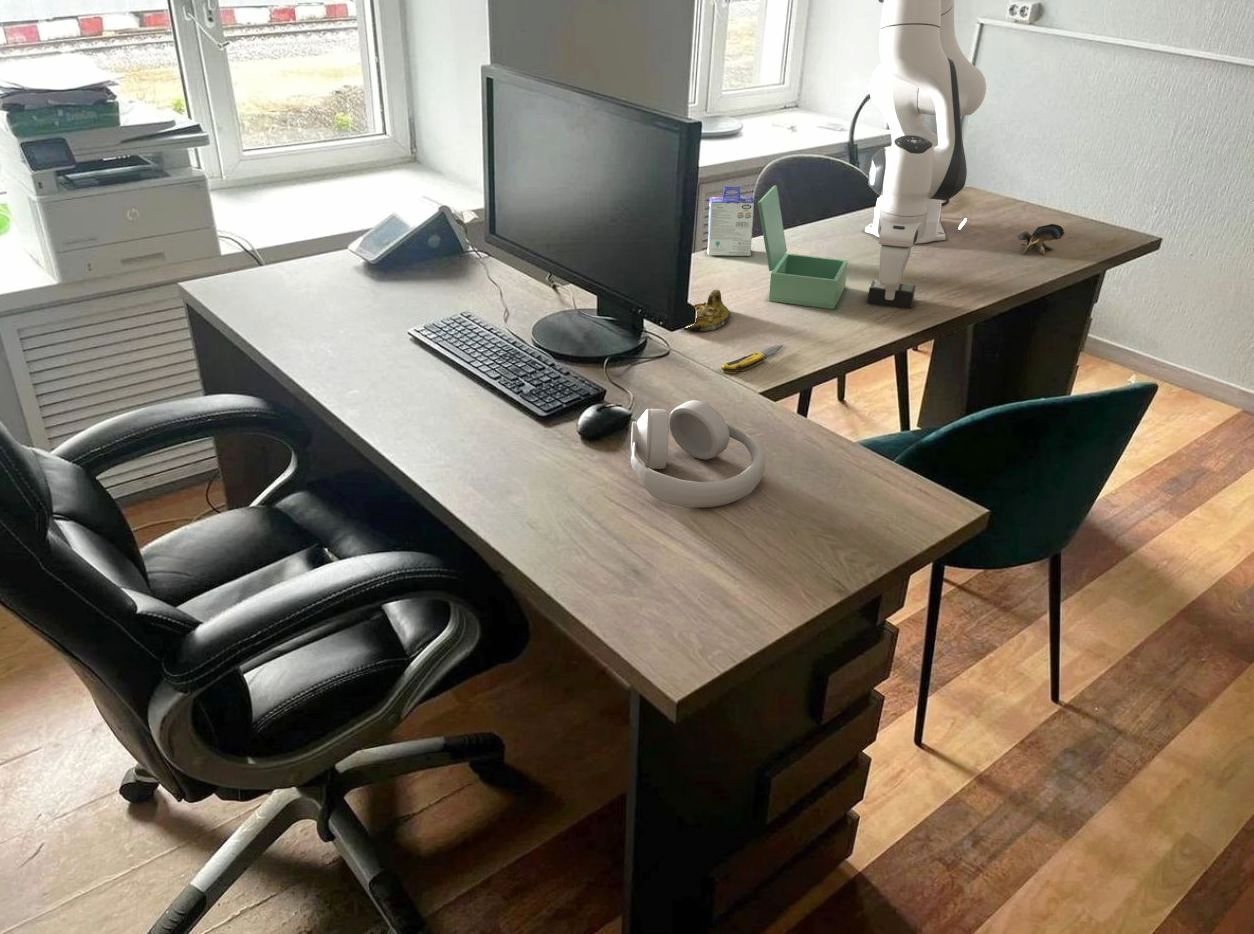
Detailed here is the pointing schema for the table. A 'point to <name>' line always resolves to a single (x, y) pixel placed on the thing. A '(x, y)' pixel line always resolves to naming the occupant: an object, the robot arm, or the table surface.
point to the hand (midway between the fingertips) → (891, 293)
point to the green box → (808, 280)
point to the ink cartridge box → (730, 224)
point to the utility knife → (749, 360)
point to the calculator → (901, 299)
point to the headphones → (699, 437)
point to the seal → (710, 313)
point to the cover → (772, 227)
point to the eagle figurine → (1040, 237)
